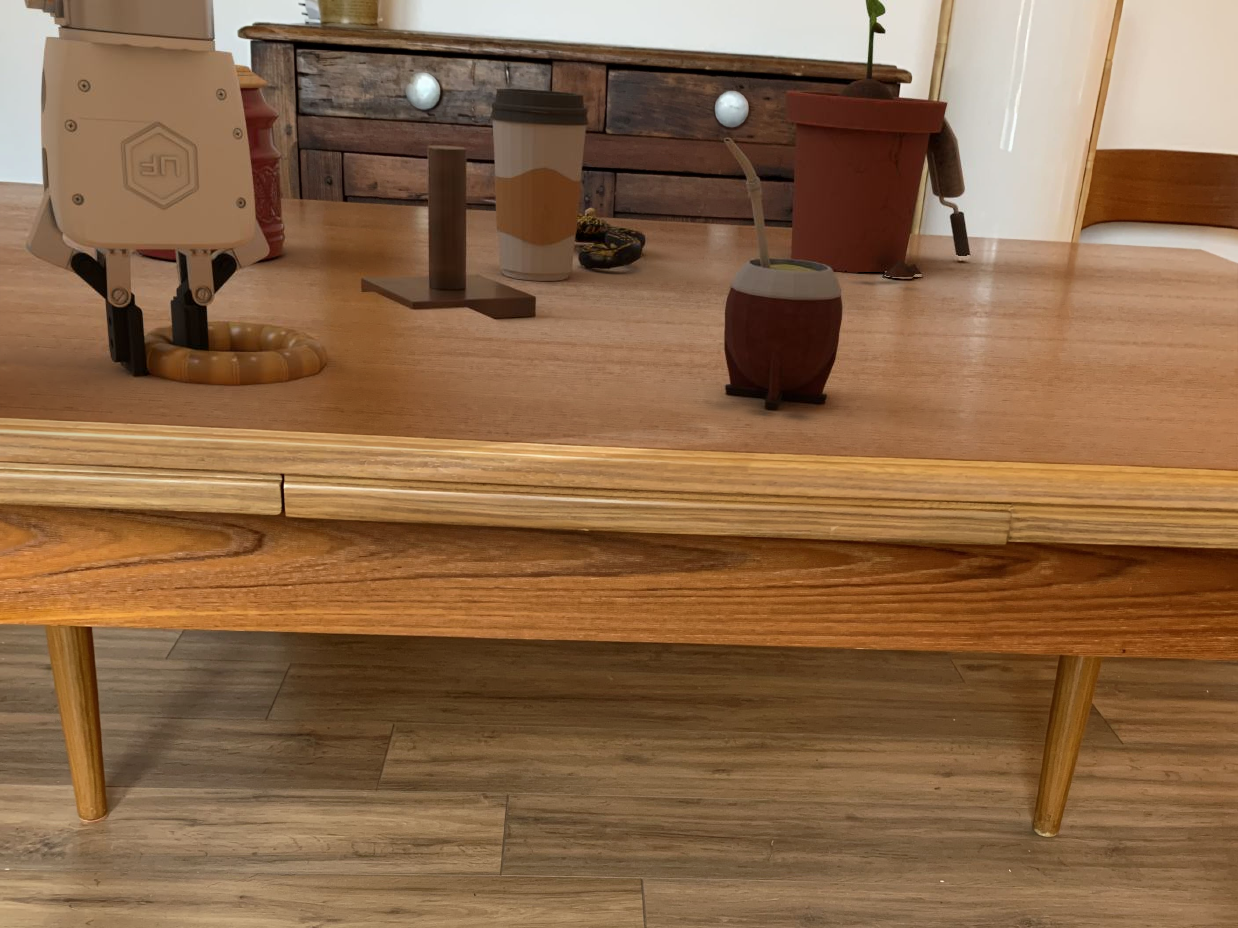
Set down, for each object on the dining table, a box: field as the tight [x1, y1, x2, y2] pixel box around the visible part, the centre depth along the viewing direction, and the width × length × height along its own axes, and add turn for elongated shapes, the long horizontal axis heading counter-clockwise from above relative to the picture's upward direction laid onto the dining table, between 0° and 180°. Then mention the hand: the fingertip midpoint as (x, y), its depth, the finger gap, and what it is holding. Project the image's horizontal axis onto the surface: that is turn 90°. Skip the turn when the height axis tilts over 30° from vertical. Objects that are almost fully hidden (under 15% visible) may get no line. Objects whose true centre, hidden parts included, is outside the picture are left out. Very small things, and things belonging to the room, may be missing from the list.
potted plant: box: [785, 0, 971, 280], centre depth 133 cm, size 18×22×25 cm
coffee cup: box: [490, 88, 589, 282], centre depth 116 cm, size 8×8×15 cm
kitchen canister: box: [134, 64, 286, 261], centre depth 115 cm, size 13×13×18 cm
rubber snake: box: [575, 207, 646, 270], centre depth 130 cm, size 18×5×10 cm
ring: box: [144, 320, 328, 386], centre depth 78 cm, size 10×10×2 cm
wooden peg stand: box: [360, 145, 537, 319], centre depth 101 cm, size 10×10×12 cm
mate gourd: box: [723, 136, 843, 411], centre depth 80 cm, size 8×8×15 cm
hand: (161, 370), depth 76 cm, fingers closed on ring, 2 cm apart
